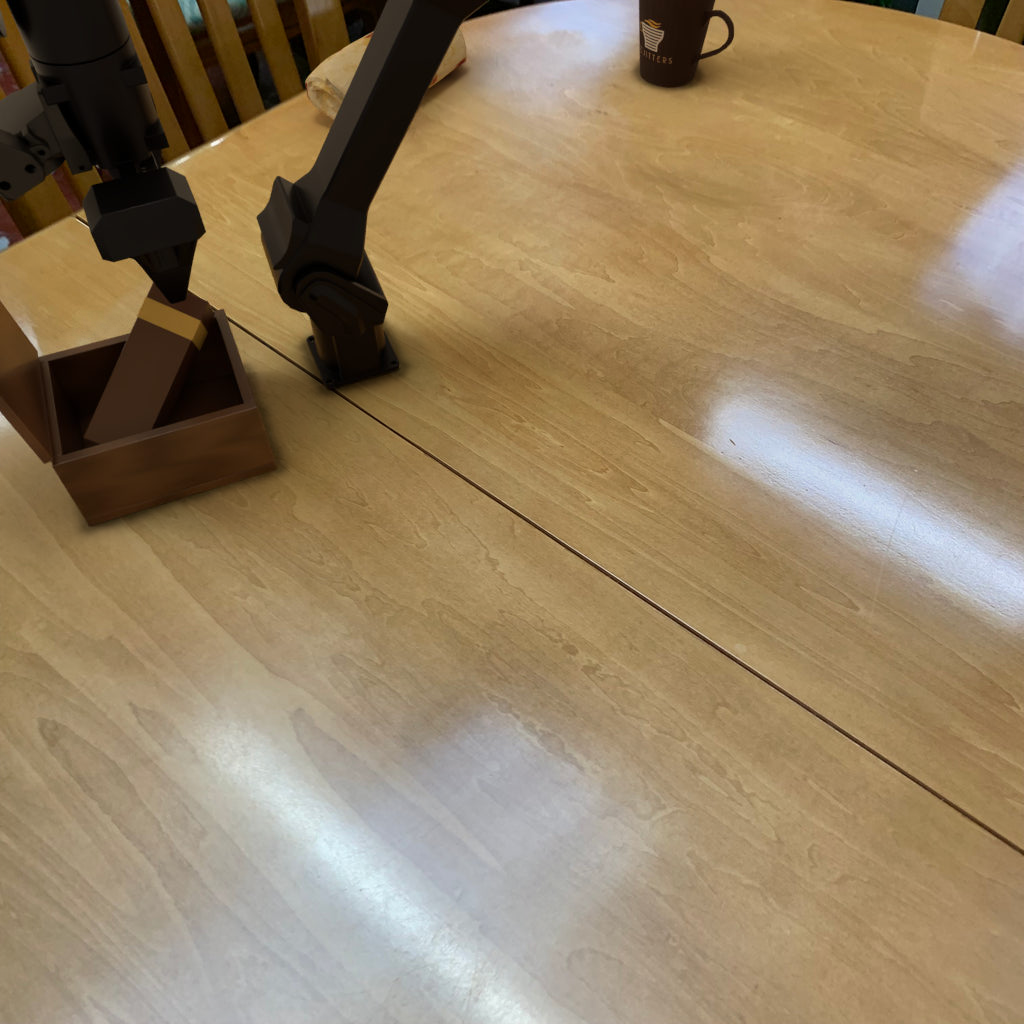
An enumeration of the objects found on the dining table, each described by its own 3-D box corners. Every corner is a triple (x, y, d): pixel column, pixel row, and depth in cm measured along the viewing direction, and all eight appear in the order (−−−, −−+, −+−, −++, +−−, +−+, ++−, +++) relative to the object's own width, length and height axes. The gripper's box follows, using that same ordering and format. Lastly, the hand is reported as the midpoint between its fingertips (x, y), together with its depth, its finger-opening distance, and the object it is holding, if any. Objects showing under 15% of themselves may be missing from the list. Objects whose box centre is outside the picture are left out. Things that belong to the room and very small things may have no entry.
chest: (244, 371, 77) (223, 308, 72) (277, 469, 71) (257, 407, 65) (71, 419, 74) (35, 357, 69) (89, 526, 68) (51, 466, 62)
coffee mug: (618, 61, 109) (626, -30, 101) (686, 49, 110) (699, -41, 102) (657, 110, 102) (669, 17, 94) (729, 98, 103) (746, 4, 95)
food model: (362, 150, 99) (474, 76, 109) (362, 93, 93) (481, 21, 103) (293, 108, 101) (410, 39, 111) (290, 50, 95) (413, -17, 106)
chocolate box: (81, 437, 65) (154, 277, 66) (97, 441, 70) (164, 291, 70) (138, 460, 66) (209, 301, 67) (150, 463, 70) (216, 314, 71)
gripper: (-78, 3, 57) (31, 221, 69) (-58, 157, 46) (67, 381, 59) (106, -33, 59) (180, 183, 72) (164, 105, 49) (239, 330, 61)
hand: (164, 262), depth 66 cm, fingers open, 9 cm apart
